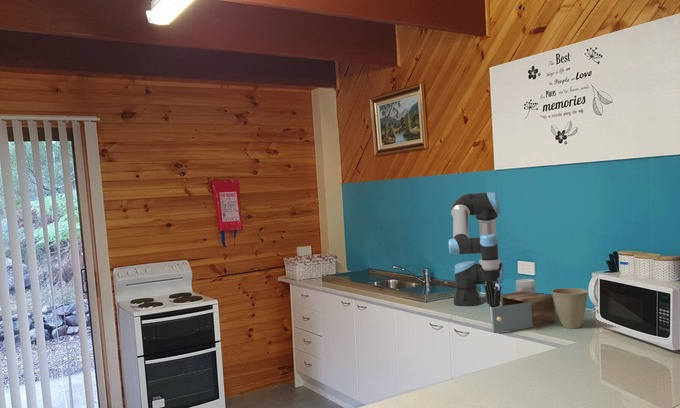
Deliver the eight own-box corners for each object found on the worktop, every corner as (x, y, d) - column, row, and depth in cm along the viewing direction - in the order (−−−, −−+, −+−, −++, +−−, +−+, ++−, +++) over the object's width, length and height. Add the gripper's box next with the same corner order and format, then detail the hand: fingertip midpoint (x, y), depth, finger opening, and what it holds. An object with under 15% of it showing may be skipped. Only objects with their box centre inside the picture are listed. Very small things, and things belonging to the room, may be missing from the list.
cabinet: (502, 319, 260) (500, 295, 260) (523, 314, 266) (522, 290, 266) (534, 327, 242) (532, 300, 242) (556, 321, 248) (554, 296, 248)
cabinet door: (531, 326, 242) (529, 302, 242) (535, 327, 240) (533, 303, 240) (492, 332, 237) (490, 307, 237) (496, 333, 234) (494, 308, 234)
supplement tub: (540, 307, 279) (538, 279, 279) (531, 311, 273) (529, 282, 273) (523, 305, 286) (521, 278, 286) (514, 309, 280) (512, 281, 280)
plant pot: (587, 331, 229) (584, 294, 228) (550, 329, 237) (548, 293, 236) (592, 323, 241) (589, 288, 241) (557, 321, 249) (555, 287, 249)
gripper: (505, 269, 235) (509, 323, 236) (491, 266, 248) (495, 316, 248) (489, 271, 234) (494, 325, 234) (476, 268, 246) (480, 318, 247)
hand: (494, 320), depth 241 cm, fingers closed
